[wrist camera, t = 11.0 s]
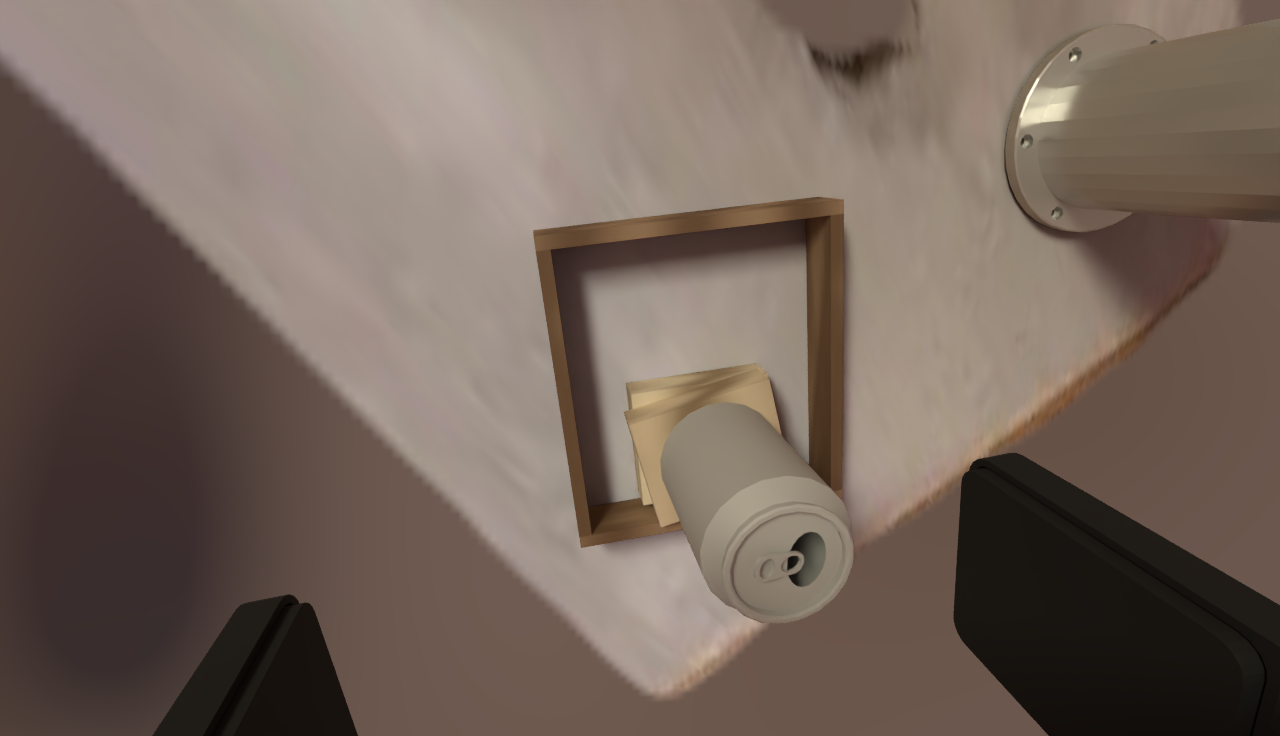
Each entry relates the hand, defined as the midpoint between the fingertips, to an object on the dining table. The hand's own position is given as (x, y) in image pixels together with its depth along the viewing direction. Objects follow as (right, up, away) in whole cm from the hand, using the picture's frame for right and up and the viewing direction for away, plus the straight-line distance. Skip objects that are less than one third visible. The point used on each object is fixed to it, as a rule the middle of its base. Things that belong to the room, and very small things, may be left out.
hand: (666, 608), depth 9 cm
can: (+4, -2, +30) cm, 31 cm away
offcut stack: (+3, -1, +34) cm, 34 cm away
